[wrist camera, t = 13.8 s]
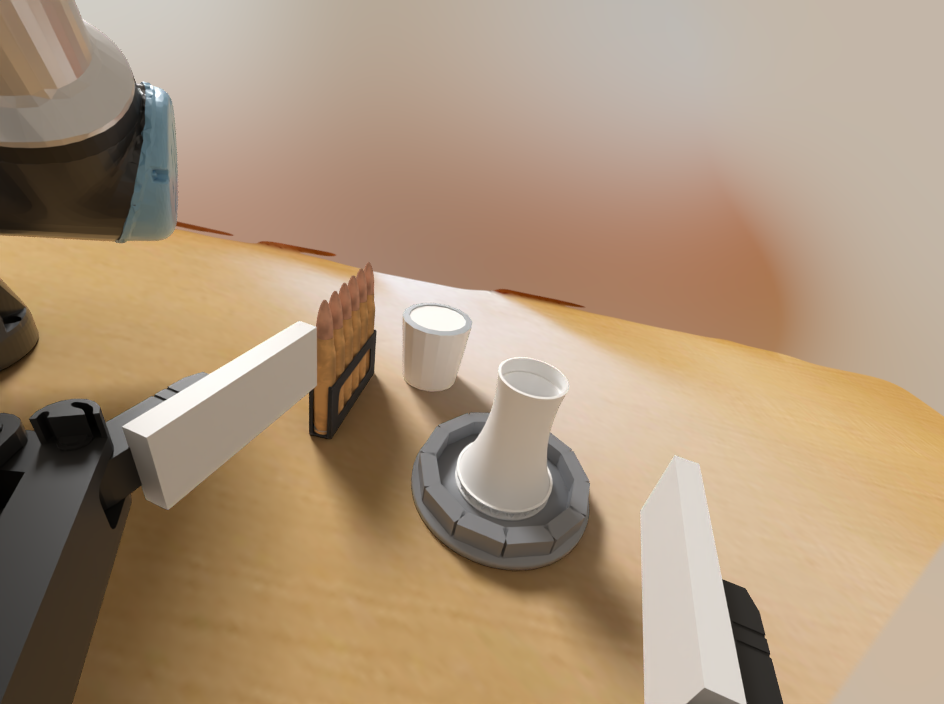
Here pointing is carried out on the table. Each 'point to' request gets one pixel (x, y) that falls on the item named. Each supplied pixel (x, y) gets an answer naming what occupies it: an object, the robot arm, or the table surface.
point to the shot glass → (433, 345)
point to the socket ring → (490, 536)
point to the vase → (514, 443)
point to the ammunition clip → (343, 352)
